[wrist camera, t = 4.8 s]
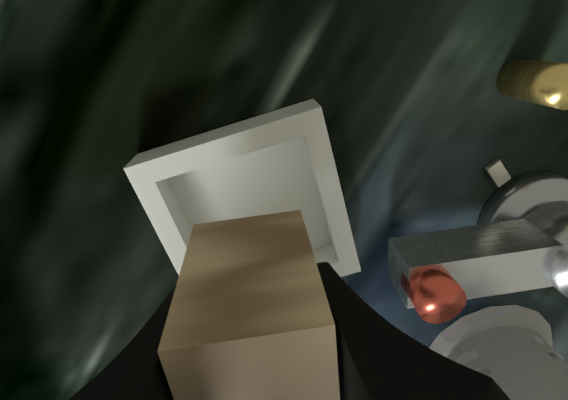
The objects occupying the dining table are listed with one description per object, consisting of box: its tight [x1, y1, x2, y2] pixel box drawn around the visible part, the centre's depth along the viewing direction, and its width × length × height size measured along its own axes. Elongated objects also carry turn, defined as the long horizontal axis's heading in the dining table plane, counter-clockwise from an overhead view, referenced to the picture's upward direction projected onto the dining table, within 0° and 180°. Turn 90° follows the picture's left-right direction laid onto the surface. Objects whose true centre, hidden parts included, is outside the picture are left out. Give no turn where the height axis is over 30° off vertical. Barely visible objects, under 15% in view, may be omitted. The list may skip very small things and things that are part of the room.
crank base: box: [477, 59, 568, 225], centre depth 19 cm, size 6×12×4 cm, turn 16°
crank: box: [388, 201, 568, 323], centre depth 18 cm, size 11×4×4 cm, turn 96°
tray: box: [124, 99, 361, 277], centre depth 19 cm, size 9×9×2 cm
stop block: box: [157, 210, 340, 400], centre depth 12 cm, size 4×4×6 cm
